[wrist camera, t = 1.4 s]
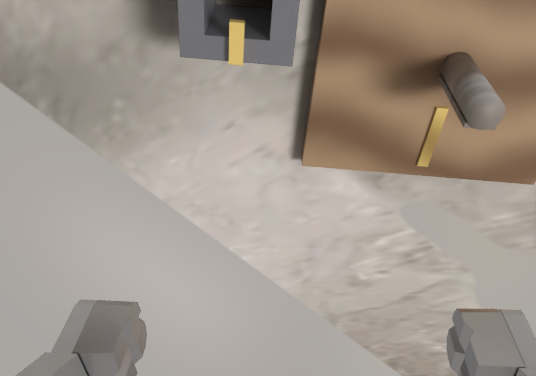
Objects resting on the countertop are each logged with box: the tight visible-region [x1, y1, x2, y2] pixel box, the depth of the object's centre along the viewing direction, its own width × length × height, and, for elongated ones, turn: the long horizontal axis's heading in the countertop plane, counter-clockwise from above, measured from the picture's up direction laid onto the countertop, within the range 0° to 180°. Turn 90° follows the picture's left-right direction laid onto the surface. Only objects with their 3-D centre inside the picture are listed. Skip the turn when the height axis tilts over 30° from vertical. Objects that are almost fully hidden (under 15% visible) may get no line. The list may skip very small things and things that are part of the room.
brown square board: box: [302, 0, 536, 185], centre depth 29 cm, size 18×18×7 cm
